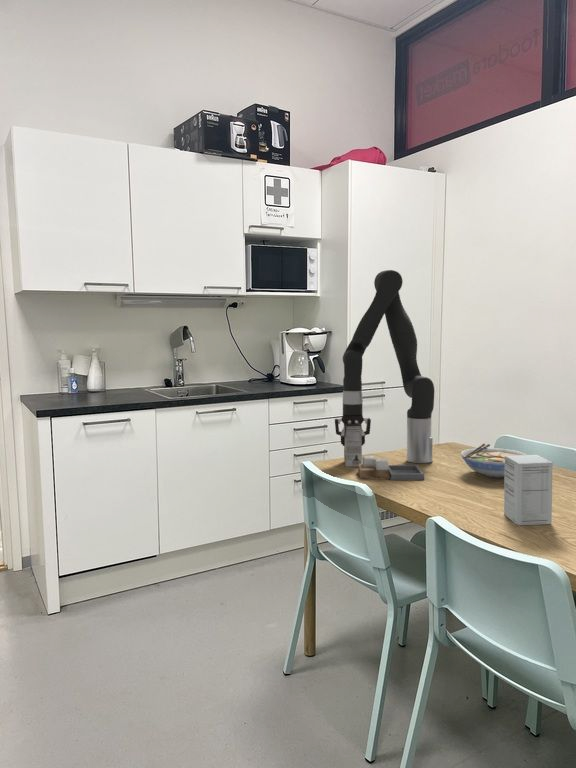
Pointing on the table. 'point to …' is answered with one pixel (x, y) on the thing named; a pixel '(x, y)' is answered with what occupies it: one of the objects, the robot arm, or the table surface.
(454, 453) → the table surface
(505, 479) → the supplement box
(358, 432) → the coffee box
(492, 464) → the ramen bowl
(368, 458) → the chip
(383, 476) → the brown flat block
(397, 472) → the charcoal tray
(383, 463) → the chip
